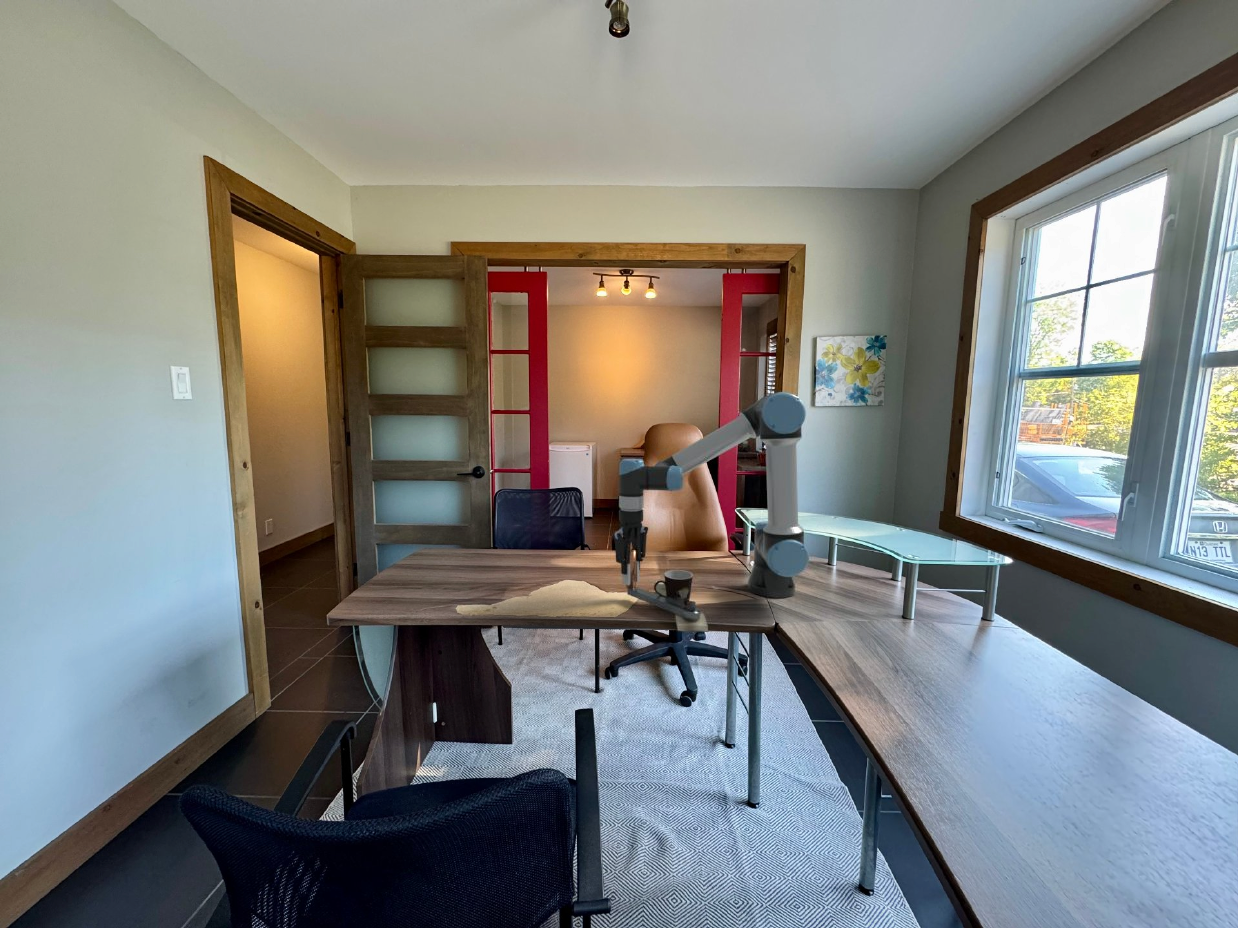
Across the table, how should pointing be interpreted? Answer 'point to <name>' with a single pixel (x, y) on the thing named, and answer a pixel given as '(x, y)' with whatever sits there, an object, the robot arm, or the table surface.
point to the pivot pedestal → (691, 625)
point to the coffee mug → (677, 584)
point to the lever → (669, 603)
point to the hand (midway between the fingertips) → (630, 582)
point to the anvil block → (661, 588)
